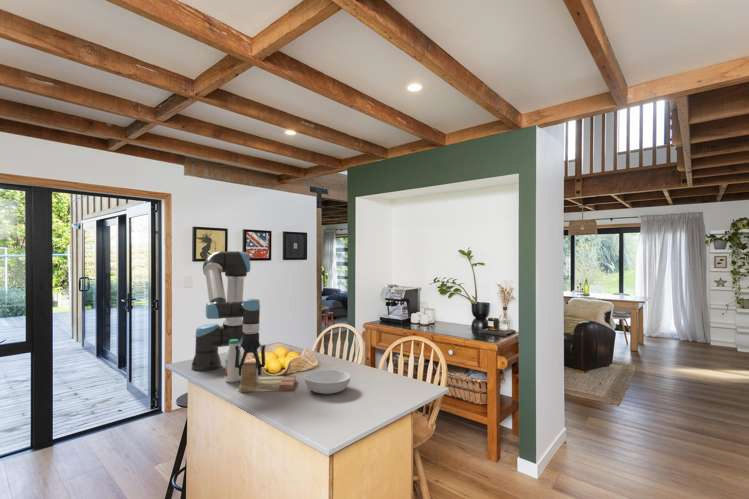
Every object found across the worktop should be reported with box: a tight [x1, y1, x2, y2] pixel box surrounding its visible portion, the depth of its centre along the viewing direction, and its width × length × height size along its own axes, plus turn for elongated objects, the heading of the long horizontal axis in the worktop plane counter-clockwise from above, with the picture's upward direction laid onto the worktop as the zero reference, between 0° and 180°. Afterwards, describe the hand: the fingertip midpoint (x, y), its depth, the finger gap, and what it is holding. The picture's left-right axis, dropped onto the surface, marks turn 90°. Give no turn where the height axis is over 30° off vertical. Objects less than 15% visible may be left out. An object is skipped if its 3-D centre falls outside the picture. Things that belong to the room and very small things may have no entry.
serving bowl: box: [304, 369, 351, 395], centre depth 178 cm, size 21×21×7 cm
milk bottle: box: [224, 339, 243, 383], centre depth 192 cm, size 8×8×20 cm
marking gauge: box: [240, 361, 257, 392], centre depth 179 cm, size 8×6×11 cm
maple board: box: [238, 375, 297, 393], centre depth 183 cm, size 14×24×2 cm, turn 95°
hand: (249, 382), depth 180 cm, fingers closed on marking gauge, 6 cm apart
